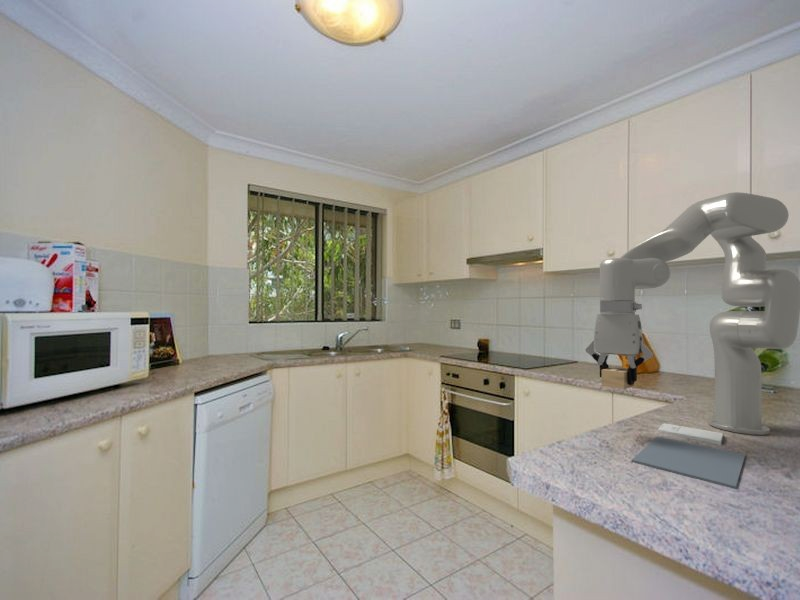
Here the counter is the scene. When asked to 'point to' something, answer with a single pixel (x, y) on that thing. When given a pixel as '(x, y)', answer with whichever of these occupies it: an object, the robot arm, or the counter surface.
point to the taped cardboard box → (615, 378)
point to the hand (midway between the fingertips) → (617, 381)
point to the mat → (692, 461)
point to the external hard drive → (691, 433)
